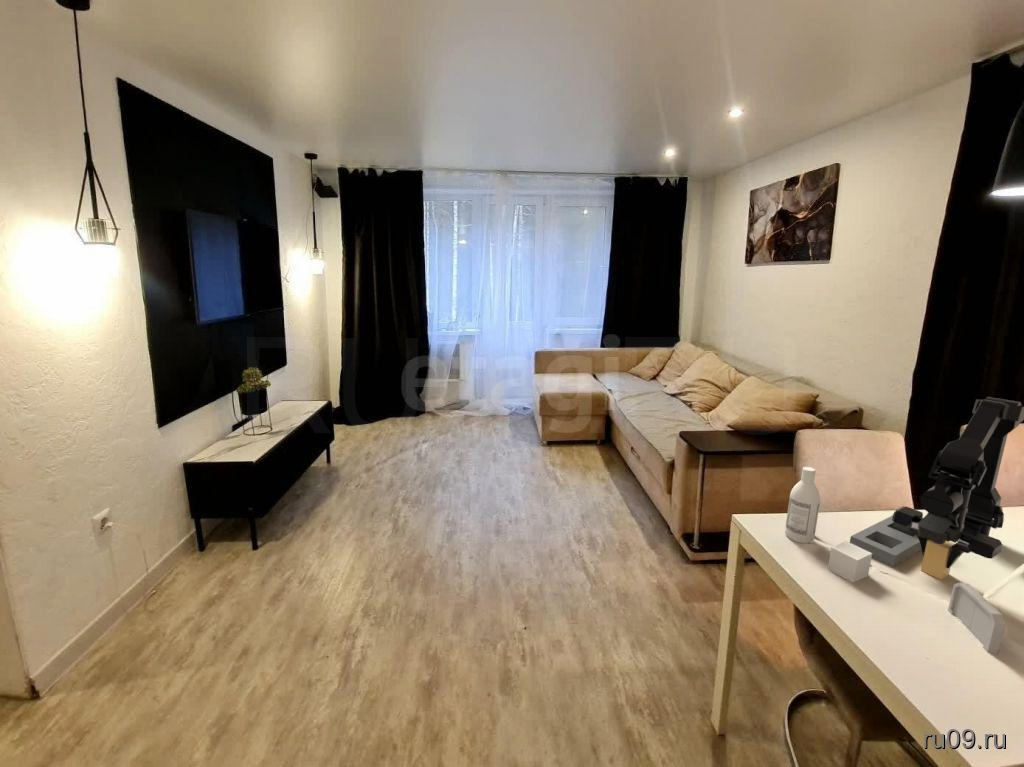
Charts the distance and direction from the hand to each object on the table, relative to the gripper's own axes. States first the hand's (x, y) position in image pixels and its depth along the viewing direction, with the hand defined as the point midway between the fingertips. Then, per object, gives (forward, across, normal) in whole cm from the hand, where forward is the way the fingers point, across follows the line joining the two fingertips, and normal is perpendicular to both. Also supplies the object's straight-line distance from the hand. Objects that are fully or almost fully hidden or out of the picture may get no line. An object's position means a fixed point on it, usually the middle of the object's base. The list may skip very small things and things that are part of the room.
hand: (936, 562), depth 117 cm
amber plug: (+3, 0, 0) cm, 3 cm away
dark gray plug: (+2, -11, +10) cm, 15 cm away
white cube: (+4, -11, -16) cm, 20 cm away
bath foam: (+4, -26, -11) cm, 28 cm away
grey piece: (+4, -11, +5) cm, 13 cm away
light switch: (+4, +12, -15) cm, 20 cm away
